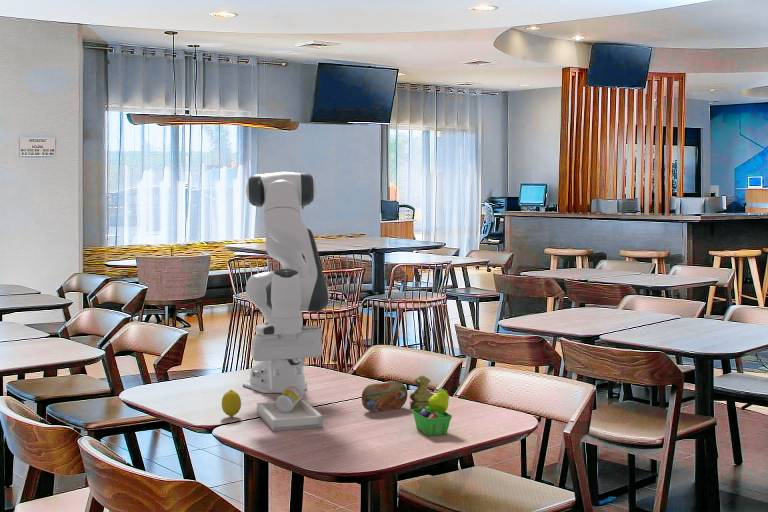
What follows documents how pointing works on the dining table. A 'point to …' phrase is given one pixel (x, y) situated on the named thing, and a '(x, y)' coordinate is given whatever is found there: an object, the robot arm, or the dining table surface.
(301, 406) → the tray
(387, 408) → the tin
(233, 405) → the lemon
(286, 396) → the supplement bottle
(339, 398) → the dining table surface
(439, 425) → the fruit basket
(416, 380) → the olive brown figurine
